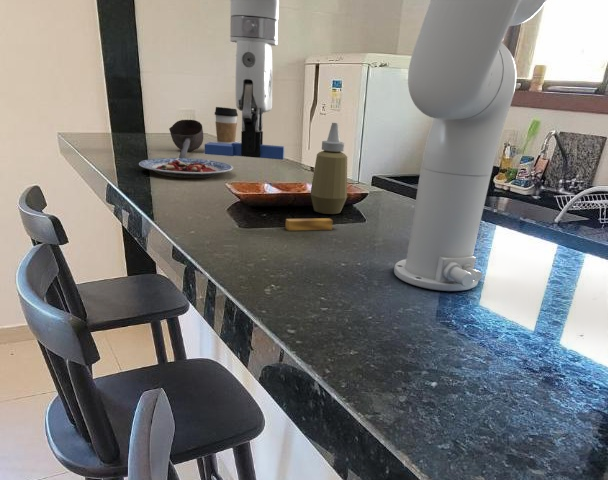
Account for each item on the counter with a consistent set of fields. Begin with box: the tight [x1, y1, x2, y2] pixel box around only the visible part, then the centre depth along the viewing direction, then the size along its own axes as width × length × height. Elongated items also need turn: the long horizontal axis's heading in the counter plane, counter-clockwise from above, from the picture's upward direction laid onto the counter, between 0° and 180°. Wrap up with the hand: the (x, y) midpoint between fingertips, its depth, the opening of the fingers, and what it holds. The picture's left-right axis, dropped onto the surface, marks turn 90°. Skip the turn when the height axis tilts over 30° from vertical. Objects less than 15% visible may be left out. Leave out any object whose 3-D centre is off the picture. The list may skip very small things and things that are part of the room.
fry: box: [284, 217, 334, 232], centre depth 102 cm, size 9×2×2 cm, turn 110°
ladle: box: [168, 119, 204, 158], centre depth 180 cm, size 12×38×10 cm, turn 8°
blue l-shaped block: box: [204, 141, 285, 161], centre depth 92 cm, size 14×4×2 cm, turn 85°
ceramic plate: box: [138, 157, 234, 179], centre depth 149 cm, size 26×26×3 cm
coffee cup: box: [214, 106, 239, 144], centre depth 194 cm, size 8×8×15 cm
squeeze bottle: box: [309, 122, 348, 215], centre depth 113 cm, size 8×8×18 cm
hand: (251, 155), depth 93 cm, fingers closed on blue l-shaped block, 1 cm apart
